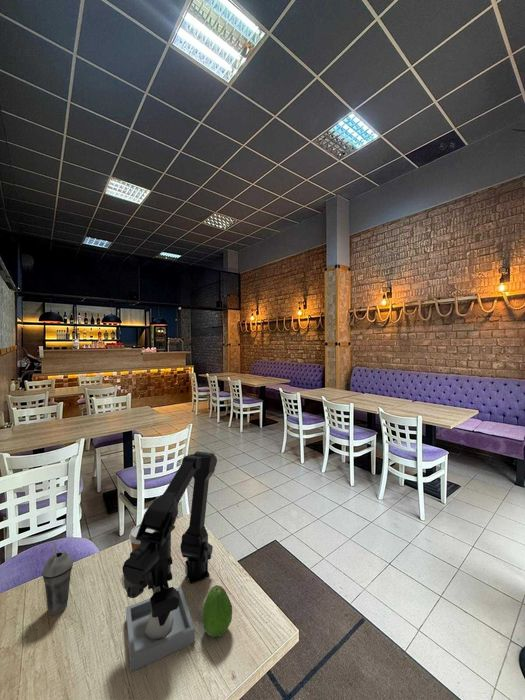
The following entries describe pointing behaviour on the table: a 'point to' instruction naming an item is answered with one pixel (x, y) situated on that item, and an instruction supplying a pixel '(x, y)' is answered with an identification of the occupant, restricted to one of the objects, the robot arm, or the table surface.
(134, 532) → the disposable coffee cup
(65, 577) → the beverage cup
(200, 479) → the robot arm
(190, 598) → the table surface
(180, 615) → the serving bin
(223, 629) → the avocado
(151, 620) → the flask
